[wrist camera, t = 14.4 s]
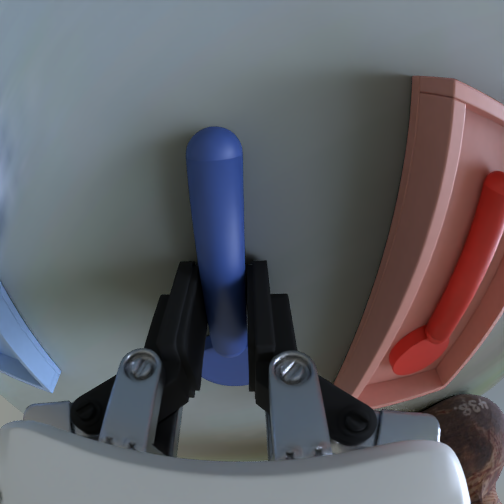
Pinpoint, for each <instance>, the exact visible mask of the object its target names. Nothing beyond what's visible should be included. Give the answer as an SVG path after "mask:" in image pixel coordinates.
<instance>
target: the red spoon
mask: <svg viewBox="0 0 504 504" xmlns="http://www.w3.org/2000/svg"><path fill="white" fill-rule="evenodd" d="M503 231H504V172H502V171H493V172H491V173H489V174H488V175H487V176H486V178H485V180H484V183H483V187H482V191H481V195H480V199H479V202H478V206H477V209H476V212H475V216H474V219H473V222H472V225H471V228H470V231H469V234H468V236H467V239H466V242H465V245H464V247H463V250H462V252H461V255H460V257H459V260H458V262H457V264H456V267H455V269H454V271H453V274H452V276H451V278H450V280H449V282H448V285H447V287H446V289H445V291H444V293H443V295H442V297H441V299H440V301H439V303H438V305H437V307H436V308H435V310H434V312H433V314H432V316H431V318H430V319H429V321H428V323H427V325H424V326H422V327H419V328H417V329H415V330H414V331H412V332H410V333H409V334H407V335H406V336H405V337H403V338H402V339H401V340H400V341H399V342H398V343H397V344H396V345H395V346H394V347H393V348H392V350H391V352H390V354H389V362H390V365H391V367H392V370H393V372H394V373H395V374H397V375H408V374H412V373H415V372H417V371H419V370H421V369H423V368H425V367H427V366H428V365H430V364H431V363H433V362H434V361H435V360H436V359H438V358H439V357H440V356H441V355H442V354H443V352H444V351H445V350H446V348H447V346H448V344H449V337H450V335H451V334H452V332H453V331H454V329H455V328H456V326H457V324H458V323H459V321H460V320H461V318H462V316H463V315H464V313H465V311H466V309H467V308H468V306H469V304H470V302H471V301H472V299H473V297H474V295H475V293H476V291H477V290H478V288H479V286H480V284H481V282H482V280H483V278H484V276H485V274H486V271H487V269H488V267H489V265H490V263H491V261H492V258H493V256H494V254H495V251H496V249H497V246H498V244H499V241H500V239H501V236H502V234H503Z"/></svg>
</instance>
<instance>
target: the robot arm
mask: <svg viewBox="0 0 504 504" xmlns="http://www.w3.org/2000/svg"><path fill="white" fill-rule="evenodd" d="M247 321H248V368H249V392H251V391H255V399H256V404H257V405H258V406H260V407H261V408H262V409H264V410H265V418H266V434H267V451H268V461H260V462H227V461H207V460H194V459H184V458H177V451H178V442H179V434H180V425H181V418H182V410H183V405H185V404H186V403H187V402H188V400H189V397H191V398H194V396H195V390H197V391H199V390H200V385H201V376H202V367H203V358H204V349H205V341H206V333H207V325H208V321H207V315H206V309H205V304H204V298H203V292H202V285H201V279H200V272H199V266H198V265H196V264H195V262H180V264H179V267H178V270H177V273H176V276H175V279H174V282H173V286H172V289H171V292H170V295H161V296H160V298H159V301H158V304H157V307H156V310H155V314H154V317H153V320H152V323H151V326H150V329H149V333H148V336H147V339H146V343H145V346H144V348H139V349H135V350H132V351H131V352H129V353H127V354H126V355H125V356H124V357H123V359H122V361H121V363H120V365H119V368H118V372H117V375H115V376H114V377H112V378H110V379H109V380H107V381H105V382H104V383H102V384H100V385H99V386H97V387H95V388H94V389H92V390H90V391H89V392H87V393H85V394H83V395H82V396H80V397H79V398H77V399H76V400H75V401H74V402H73V403H71V402H70V401H61V402H50V403H38V404H32V405H30V406H28V407H27V408H26V410H25V412H24V417H23V420H20V421H13V422H10V423H7V424H5V425H3V426H2V427H1V429H0V504H471V502H470V496H469V491H468V487H467V483H466V479H465V476H464V472H463V469H462V467H461V464H460V462H459V460H458V458H457V456H456V454H455V453H454V451H453V450H452V449H451V448H450V447H449V446H448V445H446V444H444V443H441V442H440V425H439V422H438V420H437V418H436V417H434V416H433V415H431V414H427V413H415V412H404V411H394V410H386V409H382V410H381V411H376V410H373V409H372V408H371V407H370V406H368V405H367V404H365V403H363V402H362V401H360V400H358V399H357V398H355V397H353V396H352V395H350V394H348V393H347V392H345V391H343V390H342V389H340V388H338V387H337V386H335V385H334V384H332V383H330V382H329V381H327V380H326V379H324V378H322V377H321V376H319V375H318V373H317V368H316V365H315V363H314V361H313V360H312V359H311V358H310V356H308V355H306V354H305V353H302V352H299V351H297V346H296V340H295V333H294V327H293V322H292V316H291V310H290V304H289V298H288V295H287V294H270V287H269V277H268V268H267V261H252V265H247Z"/></svg>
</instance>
